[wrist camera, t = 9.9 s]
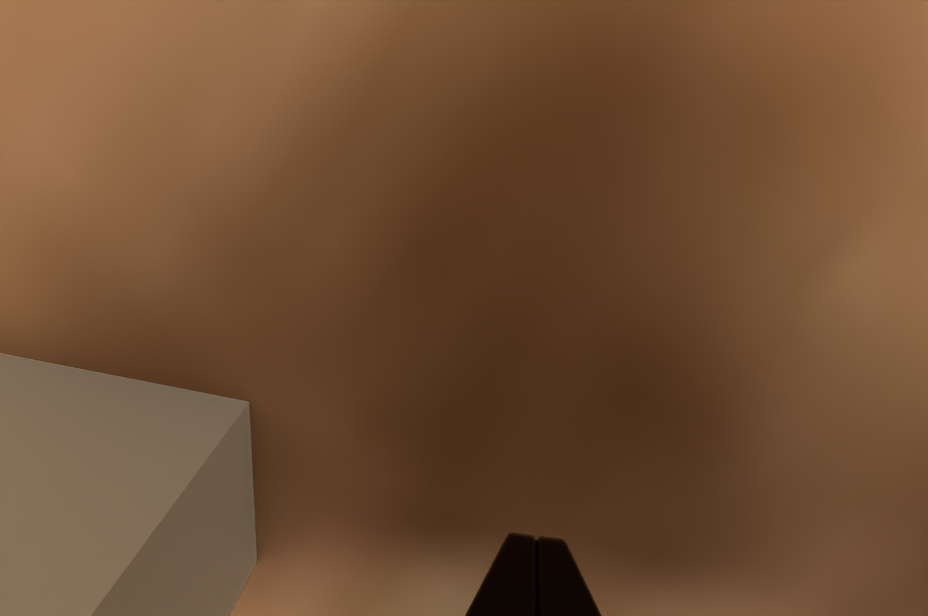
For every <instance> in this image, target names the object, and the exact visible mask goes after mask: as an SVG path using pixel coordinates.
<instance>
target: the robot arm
mask: <svg viewBox="0 0 928 616" xmlns="http://www.w3.org/2000/svg"><path fill="white" fill-rule="evenodd" d="M465 616H601V614H600V612H599V610H598V607H597V605H596V603H595V601H594V599H593V597H592V595H591V593H590V591H589V589H588V587H587V585H586V583H585V581H584V578H583V576H582V574H581V572H580V570H579V568H578V566H577V564H576V562H575V560H574V558H573V556H572V554H571V551H570V549H569V547H568V545H567V544H566V542H565V541H564V540H563V539H560V538H552V537H544V536H540V537H538V538H537V539H535V537H534V536H533V535H528V534H520V533H509V534H508V535H507V537H506V538H505V540H504V542H503V544H502V546H501V548H500V550H499V552H498V554H497V556H496V557H495V559H494V561H493V563H492V565H491V567H490V569H489V571H488V573H487V575H486V577H485V579H484V580H483V582H482V584H481V586H480V588H479V590H478V592H477V594H476V596H475V598H474V600H473V602H472V603H471V605H470V607H469V609H468V611H467V613H466V615H465Z"/></svg>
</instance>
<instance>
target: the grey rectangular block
mask: <svg viewBox="0 0 928 616" xmlns="http://www.w3.org/2000/svg"><path fill="white" fill-rule="evenodd" d="M256 563H257V549H256V528H255V508H254V488H253V467H252V447H251V426H250V406H249V402H248V401H243V400H238V399H233V398H228V397H223V396H218V395H213V394H208V393H203V392H197V391H192V390H187V389H182V388H177V387H172V386H167V385H162V384H157V383H152V382H146V381H141V380H136V379H131V378H126V377H121V376H116V375H111V374H106V373H101V372H95V371H90V370H85V369H80V368H75V367H70V366H65V365H60V364H55V363H50V362H44V361H39V360H34V359H29V358H24V357H19V356H14V355H9V354H4V353H0V616H230V614H231V612H232V610H233V608H234V606H235V604H236V602H237V600H238V598H239V596H240V594H241V592H242V591H243V589H244V587H245V585H246V583H247V581H248V579H249V577H250V575H251V573H252V571H253V569H254V567H255V565H256Z"/></svg>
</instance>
